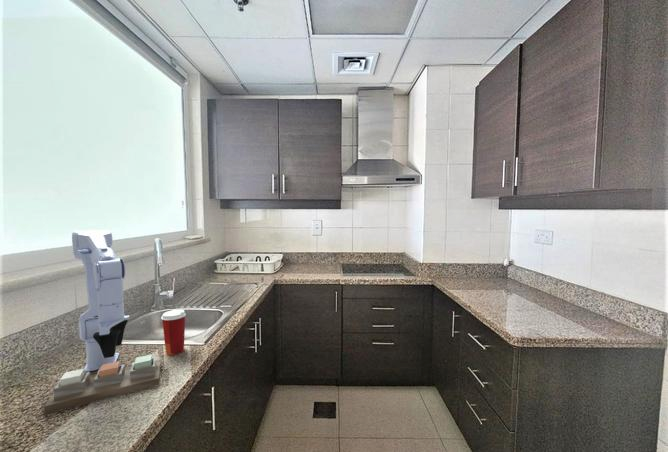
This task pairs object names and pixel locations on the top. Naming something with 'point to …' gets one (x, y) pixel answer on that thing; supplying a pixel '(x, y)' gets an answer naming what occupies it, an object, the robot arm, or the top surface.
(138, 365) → the sage button
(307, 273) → the top surface
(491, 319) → the top surface
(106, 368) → the terracotta button
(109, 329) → the robot arm
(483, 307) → the top surface
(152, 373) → the button board
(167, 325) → the paper cup
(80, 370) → the cream button
